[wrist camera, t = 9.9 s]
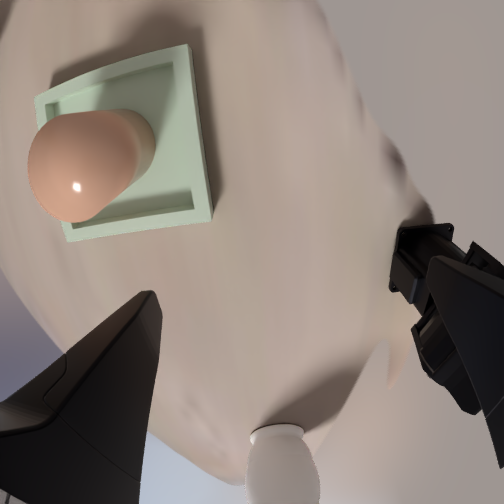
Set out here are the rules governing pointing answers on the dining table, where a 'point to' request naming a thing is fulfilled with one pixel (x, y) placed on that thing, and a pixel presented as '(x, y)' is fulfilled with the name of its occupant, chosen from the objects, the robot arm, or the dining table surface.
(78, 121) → the pink rounded cylinder
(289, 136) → the dining table surface
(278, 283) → the dining table surface
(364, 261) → the dining table surface
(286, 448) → the jar
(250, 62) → the dining table surface
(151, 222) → the tray
